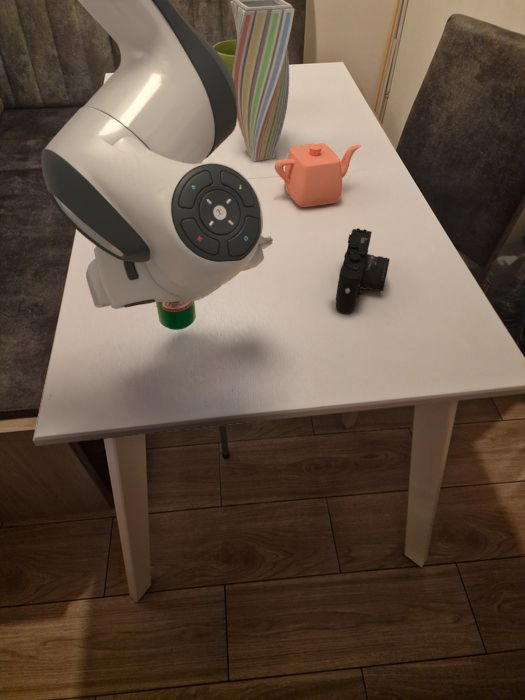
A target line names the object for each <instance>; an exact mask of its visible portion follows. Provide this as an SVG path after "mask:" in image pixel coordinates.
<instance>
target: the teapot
mask: <svg viewBox="0 0 525 700" xmlns="http://www.w3.org/2000/svg"><path fill="white" fill-rule="evenodd" d="M361 146H362V145H361V144H354V145H352V146H350V147H349V148H347V149H346V151H345V152H344V154H343V156H342V159H340V157H339V156H338V154H337V153H336V152H335V151H334V150H333V149H332V148H331V147H330V146H329V145H327V144H326V143H324V142H323V143H322V142H321V143H311V144H303V145H301V144H300V145H294V146H291V147H290V148H289V151H288V154H287V156H286V158H284V159H279V160H277V161H275V163H274V170H275V172H276V174H277V175H278V176H279V177H280V178H281V179H282V180H283V182H284V186H285V189H286V191H287V193H288V195H289V197H290V198H291V199H292V200H293V202H295V204H297V205H298V206H299V207H301V208H304V207H305V208H306V207H317V206H323V205H328V204H334V203H337V202H338V201H339V200H340V198H341V196H342V192H343V178H345V176H346V175H347V173H348V170H349V166H350V163H351V159H352V158H353V157H352V156H353V155H354V154H355V152H356V151H357V150H358V149H360V148H361Z"/></svg>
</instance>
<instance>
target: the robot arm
mask: <svg viewBox="0 0 525 700" xmlns="http://www.w3.org/2000/svg"><path fill="white" fill-rule="evenodd" d="M77 1H78V2H79V4H80V5H81V6H82V7H83V8H84V9H85V10H86V11H87V12H88V14H89V15H91V16H92V18H93V19H94V20H95V21H96V22H97V23H98V24H99V25H100V26H101V27H102V29H104V31H105V32H106V33H107V34H108V35H109V36H110V38H112V40H113V41H114V42H115V43H116V44H117V46H118V49H119V52H120V62H119V63H120V64H119V66H118V67H117V68H116V70H115V71H114V72H113V73H112V74H111V75H110V77H109V78H107V80H106V81H105V82H104V83H103V84H102V85H101V87H99V89H98V90H97V91H96V92H95V93H94V94H93V95H92V96H91V98H89V100H88V101H87V102H86V103H85V104H84V105H83V106H81V107H80V108H79V109H77V111H76V112H75V113H74V114H73V115H72V116H71V117H70V118H69V120H68V121H67V122H66V123H65V124H64V125H63V126H62V127H61V129H59V131H58V132H57V133H56V135H54V137H53V138H51V140H50V141H49V142H48V144H47V145H46V147H44V148H43V149H42V150H41V170H42V175H43V180H44V183H45V186H46V189H47V192H48V195H49V197H50V199H51V201H52V202H53V204H54V206H55V207H56V208H57V209H58V211H59V212H60V213H61V214H62V216H63V217H64V218H65V219H66V221H67V222H68V223H69V224H70V225H71V226H72V227H73V228H74V229H75V230H76V231H78V233H80V235H82V236H84V238H85V239H87V240H88V241H89V242H91V243H92V244H93V245H94V246H95V247H94V248H93V254H94V259H92V260H91V261H90V263H89V264H88V266H87V269H86V272H85V279H86V283H87V286H88V288H89V293H90V296H91V298H92V302H93V304H94V307H95V308H98V309H101V308H107V307H111V309H114V310H119V309H123V308H125V309H127V308H132V307H136V306H141V305H148V304H149V305H150V304H153V303H156V302H177V301H180V302H192V301H194V302H196V301H200V300H202V299H204V298H206V297H208V296H209V295H212V293H214V292H215V291H217V290H218V289H220V288H221V287H223V286H224V285H225V284H227V283H228V282H230V281H231V280H233V279H234V278H235V277H236V276H237V275H239V274H240V273H241V272H245V271H248V270H251V269H254V268H256V267H258V266H259V265H260V264H261V263H262V262H263V261H264V259H265V255H264V251H263V250H264V249H266V248H268V247H270V246H271V245H273V240H274V239H273V238H272V236H270V235H269V236H263V235H262V234H263V229H264V217H263V211H262V205H261V201H260V198H259V196H258V193H257V191H256V189H255V188H254V186H253V185H252V183H251V182H250V181H249V179H248V178H247V177H246V176H245V175H244V174H242V172H240V171H238V170H237V169H235V168H234V167H232V166H229V165H227V164H225V163H221V162H212V161H211V162H209V161H208V162H204V161H205V160H206V159H207V158H209V157H210V156H211V155H212V154H213V153H214V152H215V151H216V150H217V149H218V148H219V147H220V146H221V145H222V144H223V143H224V142H225V141H226V140H227V139H228V138H229V137H230V136H231V135H232V134H233V133H234V131H235V129H236V126H237V123H238V120H237V98H236V90H235V85H234V81H233V77H232V75H231V72H230V70H229V68H228V66H227V65H226V63H225V62H224V60H223V59H222V57H221V56H220V55H219V54H218V53H217V51H216V50H215V49H214V48H213V46H212V45H211V43H210V42H208V41H207V39H206V38H204V37H203V36H202V35H201V34H200V32H198V30H196V29H195V28H194V27H193V26H192V25H191V24H190V23H189V21H187V20H186V19H185V18H184V17H183V16H182V15H181V13H179V11H178V10H177V8H175V6H174V5H173V4H172V3H171V1H170V0H77Z"/></svg>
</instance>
